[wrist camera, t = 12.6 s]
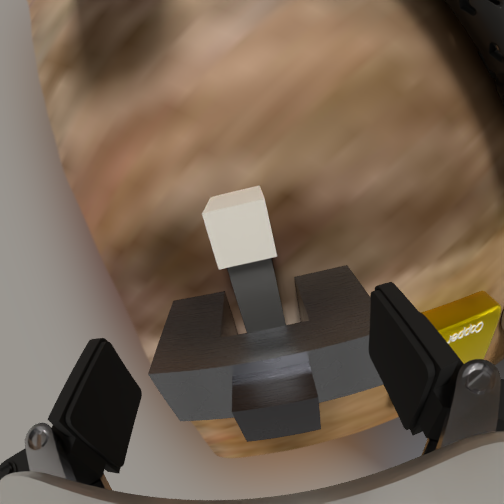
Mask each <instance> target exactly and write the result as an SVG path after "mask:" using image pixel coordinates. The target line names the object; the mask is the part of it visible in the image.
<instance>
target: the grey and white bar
mask: <svg viewBox="0 0 504 504" xmlns="http://www.w3.org/2000/svg"><path fill="white" fill-rule="evenodd" d="M202 215H203V219H204V222H205V225H206V229H207V232H208V235H209V239H210V242H211V245H212V249H213V252H214V255H215V259H216V262H217V265H218V268H219V269H224V268H227V269H228V273H229V276H230V279H231V283H232V286H233V289H234V292H235V296H236V299H237V302H238V305H239V309H240V312H241V315H242V318H243V321H244V325H245V328H246V331H247V333H250V332H256V331H261V330H266V329H271V328H276V327H281V326H286V324H285V320H284V315H283V310H282V306H281V301H280V296H279V292H278V287H277V282H276V278H275V273H274V269H273V264H272V260H271V258H273V257H277V254H276V249H275V245H274V240H273V235H272V231H271V226H270V222H269V217H268V212H267V208H266V204H265V199H264V196H263V193H262V191H261V188H260V186H255V187H251V188H247V189H242V190H238V191H234V192H230V193H226V194H222V195H218V196H214V197H210V199H209V201H208V203H207V205H206V207H205V209H204V211H203V213H202Z"/></svg>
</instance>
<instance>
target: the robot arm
mask: <svg viewBox="0 0 504 504" xmlns="http://www.w3.org/2000/svg"><path fill="white" fill-rule="evenodd" d="M501 324H502V328H503V330H504V311H503V315H502V322H501ZM369 355H370V358H371V360H372V362H373V364H374V366H375V368H376V370H377V372H378V374H379V376H380V378H381V380H382V382H383V384H384V386H385V388H386V390H387V392H388V394H389V396H390V399H391V401H392V403H393V405H394V407H395V409H396V411H397V413H398V416H399V418H400V420H401V422H402V424H403V426H404V428H405V429H406V430H408V429H410V430H411V432H412V435H415V434H417V433H420V432H422V431H423V432H424V434H425V436H426V438H428V439H427V442H426V444H425V447H424V450H423V453H422V455H421V456H420V457H417V458H415V459H413V460H410V461H408V462H405V463H403V464H400V465H398V466H395V467H393V468H390V469H387V470H384V471H381V472H378V473H375V474H372V475H369V476H366V477H363V478H359V479H356V480H352V481H349V482H345V483H341V484H338V485H334V486H330V487H326V488H321V489H317V490H311V491H306V492H301V493H295V494H289V495H282V496H274V497H265V498H256V499H244V500H243V499H242V500H213V501H212V500H209V501H208V500H206V501H205V500H181V499H167V498H156V497H148V496H141V495H134V494H128V493H123V492H117V491H112V489H111V487H110V485H109V483H108V481H107V480H106V477H105V475H104V473H103V472H104V469H105V470H107V471H108V472H114V473H119V471H120V467H121V466H123V464H124V461H125V456H126V453H127V448H128V445H129V441H130V437H131V433H132V429H133V425H134V422H135V418H136V414H137V411H138V407H139V403H140V400H141V396H142V395H141V389H140V388H139V386H138V385H137V383H136V382H135V380H134V379H133V378H132V376H131V374H130V373H129V371H128V370H127V369H126V367H125V365H124V364H123V362H122V361H121V359H120V357H119V356H118V354H117V353H116V351H115V349H114V348H113V346H112V344H111V343H110V342H108V341H107V340H106V339H104V338H100V339H92V340H90V341H89V342H88V344H87V345H86V347H85V349H84V351H83V353H82V354H81V356H80V358H79V359H78V361H77V363H76V365H75V367H74V368H73V370H72V372H71V374H70V376H69V378H68V380H67V382H66V384H65V385H64V388H63V389H62V391H61V393H60V395H59V397H58V399H57V401H56V403H55V405H54V407H53V409H52V411H51V413H50V415H49V418H48V420H49V421H50V422H51V423H52V424H53V426H52V428H51V427H50V426H49V425H48V424H46V423H38V424H36V425H34V426H33V427H32V428H31V429H30V430H29V431H28V433H27V435H26V438H25V449H24V450H22V451H20V452H19V453H17V454H15V455H14V456H12V457H10V458H9V459H7V460H6V461H4V462H3V463H2V464H1V465H0V504H504V380H503V379H501V378H500V373H499V371H498V369H497V368H496V367H495V366H494V364H492V363H491V362H489V361H487V360H483V359H474V360H470V361H468V362H466V363H465V364H464V363H463V362H462V361H461V360H460V358H459V357H458V356H457V354H456V353H455V352H454V350H453V349H452V348H451V347H450V345H449V344H448V343H447V342H446V340H445V339H444V338H443V337H442V335H441V334H440V333H439V332H438V331H437V329H436V328H435V327H434V326H433V325H432V323H431V322H430V321H429V320H428V319H427V317H426V316H425V315H424V314H422V313H420V312H418V310H417V309H416V308H415V307H414V306H413V305H412V303H411V302H410V301H409V300H408V299H407V298H406V297H405V295H404V294H403V293H402V292H401V291H400V290H399V289H398V288H397V287H396V285H395V284H394V283H392V282H389V283H385V284H382V285H378V286H376V287H375V291H373V292H371V303H370V332H369Z"/></svg>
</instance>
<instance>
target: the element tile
mask: <svg viewBox="0 0 504 504" xmlns="http://www.w3.org/2000/svg"><path fill="white" fill-rule="evenodd" d="M422 314H424V315H425V316H426V317H427V319H428V320H429V321H430V322H431V323H432V325H433V326H434V327H435V328H436V329H437V331H438V332H439V333H440V334H441V335H442V337H443V338H444V339H445V340H446V342H447V343H448V344H449V345H450V347H451V348H452V349H453V350H454V352H455V353H456V354H457V356H458V357H459V358H460V360H461V361H462V362H463V363H464V364H465V363H466V362H468V361H470V360H474V359H484V357H485V354H486V352H487V350H488V347H489V345H490V342H491V340H492V337H493V335H494V332H495V329H496V327H497V324H498V321H499V318H500V315H501V306H500V304H499V303H497V302H496V301H495V300H494V299H493V298H492V297H491V296H489V295H488V294H487V293H486V292H485V291H480V292H477V293H474V294H472V295H469V296H467V297H464V298H462V299H459V300H456V301H454V302H451V303H448V304H445V305H442V306H440V307H437V308H434V309H431V310H428V311H425V312H422Z"/></svg>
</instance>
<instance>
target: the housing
mask: <svg viewBox="0 0 504 504" xmlns="http://www.w3.org/2000/svg"><path fill="white" fill-rule="evenodd" d="M294 278H295V284H296V290H297V297H298V303H299V310H300V316H301V322H300V323H295V324H290V325H286V326H281V327H276V328H271V329H266V330H261V331H256V332H250V333H245V334H239V335H238V333H237V330H236V327H235V323H234V320H233V317H232V314H231V311H230V307H229V304H228V301H227V298H226V295H225V291H224V292H219V293H214V294H208V295H203V296H198V297H192V298H187V299H181V300H176V301H173V304H172V307H171V309H170V312H169V315H168V318H167V320H166V323H165V326H164V329H163V332H162V335H161V337H160V340H159V343H158V346H157V349H156V352H155V355H154V358H153V361H152V364H151V367H150V370H149V373H148V374H149V376H150V378H151V379H152V381H153V382H154V384H155V385H156V387H157V388H158V390H159V392H160V393H161V394H162V396H163V397H164V399H165V400H166V402H167V403H168V405H169V406H170V407H171V409H172V410H173V412H174V413H175V414H176V416H177V417H178V418H179V420H180V421H195V420H211V419H223V418H233V417H234V418H235V420H236V421H237V423H238V425H239V427H240V429H241V431H242V433H243V435H244V437H245V438H246V440H247V442H248V441H256V440H264V439H271V438H278V437H284V436H289V435H295V434H300V433H305V432H310V431H314V430H319V429H321V425H320V411H319V403H320V402H324V401H328V400H332V399H336V398H340V397H344V396H347V395H351V394H354V393H358V392H361V391H364V390H367V389H371V388H374V387H377V386H380V385H383V382H382V380H381V378H380V376H379V374H378V372H377V370H376V368H375V366H374V364H373V362H372V360H371V358H370V355H369V332H370V303H371V298H370V296H369V295H368V293H367V292H366V291H365V289H364V288H363V286H362V285H361V284H360V282H359V281H358V279H357V278H356V277H355V275H354V274H353V273H352V271H351V270H350V269H349V267H348V266H347V265H346V266H342V267H337V268H333V269H329V270H324V271H320V272H315V273H311V274H306V275H302V276H297V277H294Z"/></svg>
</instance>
